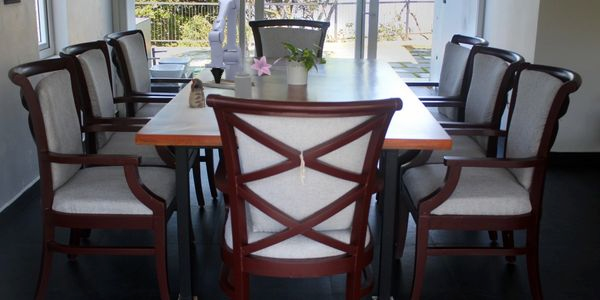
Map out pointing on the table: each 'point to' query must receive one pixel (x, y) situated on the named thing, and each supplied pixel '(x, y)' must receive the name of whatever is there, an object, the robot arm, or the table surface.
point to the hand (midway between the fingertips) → (217, 83)
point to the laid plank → (230, 81)
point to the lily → (261, 66)
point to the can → (243, 85)
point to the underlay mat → (221, 88)
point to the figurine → (197, 94)
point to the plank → (221, 84)
